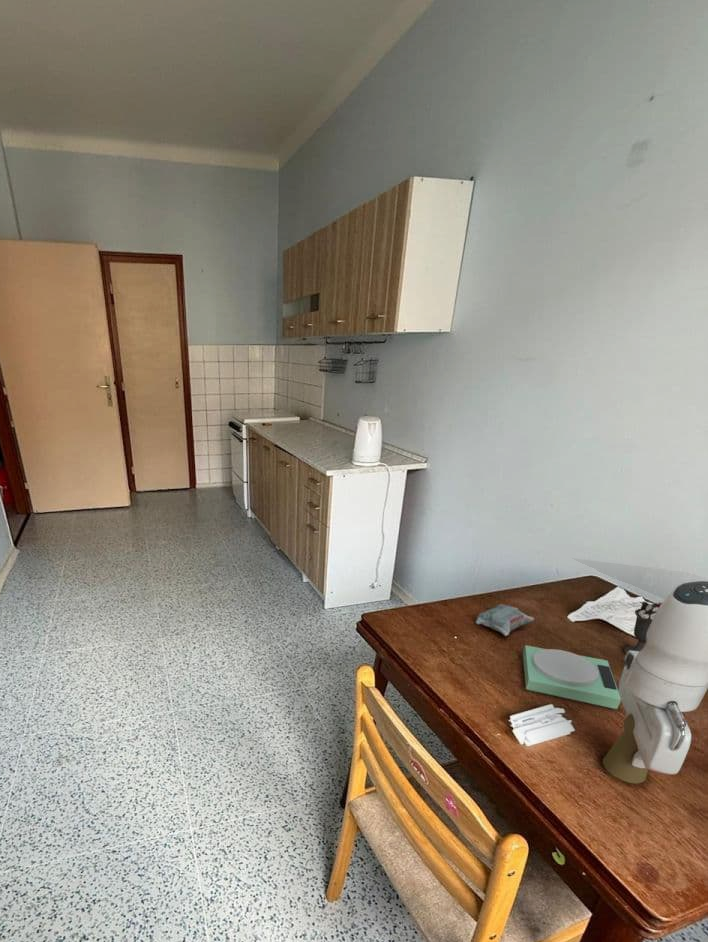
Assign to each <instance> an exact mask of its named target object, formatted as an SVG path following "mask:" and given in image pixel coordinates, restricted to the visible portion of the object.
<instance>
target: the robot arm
mask: <svg viewBox="0 0 708 942" xmlns="http://www.w3.org/2000/svg"><path fill="white" fill-rule="evenodd" d="M624 662H625V665H624V668H623V670H622V672H621V677H620V679H619V683H618V692H619V695H620V698H621V703H622V706H623V709H624V712H625V718H626V717H627V716H628V715H629V714H632V715H633V717H634V721H635V727H634V730H633V734H634V737H635V740H636V743H637V746H638V750H639V751H638V752H634V751H633V753H632V756H631V757H630V759H631V763H632V765H633V766H635V767H639V768H645V767H646V768H647V769H648V771H652V772H657V773H660V774H664V775H670V776H673V775H676V774H678V773H679V772H680V770H681V769H682V766H683V764H684V762H685V759H686V757H687V754H688V752H689V750H690V746H691V743H692V732H691V728H690V727H689V724H688V723H687V721H686V719H685V717H684V715H683V713H688V712H692V711H695V710H697V709H698V707H699V705H700V704H701V702H702V700H703V699H704V696H705V695H706V693H707V691H708V581H707V580H697V581H689V582H685V583H682V584H679V585H677V586H676V587H674V588H673V589H672V590H671V591H670V592H669V593H668V594H667V595H666V597H664V599H663V600H662V601H661V605H660V607H659V608H658V610H657V612H656V614H655V616H654V618H653V620H652V622H651V624H650V627H649V629H648V631H647V635H646V643H644V646H643V649H642V650H641V651H632V650H629V651H628V652H627V654H626V653H625V656H624ZM623 731H624V729H623V730H622V732H621V734H622V733H623Z"/></svg>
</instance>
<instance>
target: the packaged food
mask: <svg viewBox="0 0 708 942" xmlns="http://www.w3.org/2000/svg"><path fill="white" fill-rule="evenodd" d="M519 609H520V608H519V607H514V606H511V605H507V604H503V603H499V604H498V605H496V606H494V607H492V608H490V609H487V610H485V611H482V612H480V613H479V614H478V615H477V617H476V621H475V623H476V625H483V626H485V627H487V628H489V629H491V630H493V631H495V632H498V633H501V635H503V636H505V637H508V636H509V635H510V633H511V632H512V631H513V630H515V629H518V628H519V627H521V626H524V625H527V624H529V623H530V622H533V621H534V620H535V617H534V616H529V615H527V614H526V613H524V612H523V611H521V610H519Z"/></svg>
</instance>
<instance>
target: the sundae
mask: <svg viewBox="0 0 708 942" xmlns="http://www.w3.org/2000/svg"><path fill="white" fill-rule="evenodd" d="M661 603H662V601H661V602H658V603H656V602H655V603H649V602H646V601H642V603H641V607H640V608H637V609H635V610H634V614H635V616H636V620H635V624H634V629H633V635H634V637H635V638H636V640H637V641H638V642H637V644H636V645H635V647H633V646H626V647H624V649H623V652H624V653H625V655H626V654H627V652H628V651H629V650H632V651H641V650H642V649H643V648H644V646H645V644H646V635H647V631H648V629H649V627H650V624H651V622H652V620H653V618H654V616H655V614H656V612H657V610H658V608H659V607H660V605H661Z"/></svg>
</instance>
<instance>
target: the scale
mask: <svg viewBox="0 0 708 942" xmlns="http://www.w3.org/2000/svg"><path fill="white" fill-rule="evenodd" d="M522 662H523V663H522V664H523V671H524V673H523V674H524V685H525V690H527V691H531V692H536V693H540V694H546V695H550V696H555V697H559V698H564V699H567V700H568V699H569V700H573V701H578V702H581V703H587V704H591V705H596V706H600V707H604V708H609V709H615V710H618V708H619V706H620V704H621V702H622V700H621V698H620V695H619V688H618V685H617V684H616V683H617V682H616V680H615V677H614V674H613V672H612V669H611V667H610V664H609V661H608V660H606V659H601V658H596V657H590V656H585V655H581V654H580V655H579V654H576V653H574V652H572V651H571V652H570V651H568V650H563V649H556V648H555V649H554V648H549V649H548V648H542V647H539V646H533V645H532V646H531V645H527V644H525V645H524V649H523V652H522Z"/></svg>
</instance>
